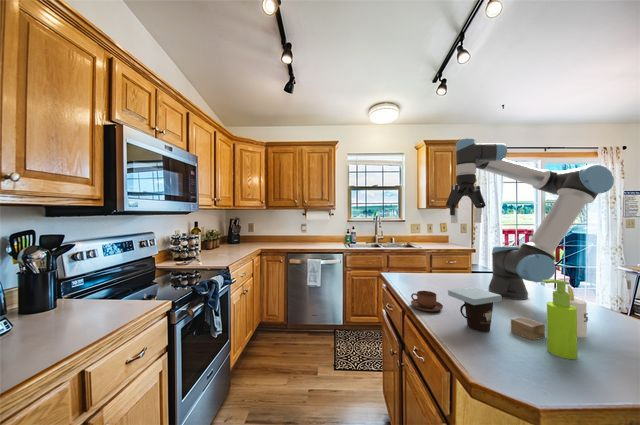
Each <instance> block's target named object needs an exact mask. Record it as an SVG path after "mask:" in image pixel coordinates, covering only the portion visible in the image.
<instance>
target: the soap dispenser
mask: <svg viewBox="0 0 640 425" xmlns="http://www.w3.org/2000/svg"><path fill="white" fill-rule="evenodd" d="M542 281H543V282H542V283H545V284H556V290H553V291H552V301H548V302H546V330H547V331H546V339H547V342H546V343H547V347H546V348H547V351H548V352H549V353H550V352H551V354H552V355H554V356H556V357H560V358H561V359H567V360H576V359H578V337H577V308H576V307H574V306H571V305H570V294H569V293H568V292H567V291H566V285H567V286H570V282H569V281H566V280H562V279H553V278H552V279H551V278H550V279H546V280H542Z"/></svg>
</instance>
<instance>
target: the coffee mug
mask: <svg viewBox="0 0 640 425" xmlns="http://www.w3.org/2000/svg"><path fill="white" fill-rule="evenodd" d="M463 302H464V301H463ZM494 303H495V302H491V303H485V304H478V305H472V304H470V303H467V302H464V303H463V304H461V306H460V309H459V311H460V314H461V316H463V317H464V319H466V324H467V327H468V329H470V330H473V331H476V332H479V333H480V332H481V333H488V332H491V325H492V317H493V312H494V311H493V309H494ZM463 309H464V310H465V313H464V312H463Z"/></svg>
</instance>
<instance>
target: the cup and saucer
mask: <svg viewBox="0 0 640 425" xmlns="http://www.w3.org/2000/svg"><path fill="white" fill-rule="evenodd" d="M414 296H416V298H414ZM410 298H411V299H412V300H411V301H410V302H411V306H413V307H414V308H415V309H417V310H420V311H424V312H439V311H441V310H442V309H443V308H444V305H443V304H442V303H441V302H439V301H437V293H436V292H433V291H429V290H418V291H417V292H416V293H412V294H411V296H410Z"/></svg>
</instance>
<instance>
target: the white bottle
mask: <svg viewBox="0 0 640 425" xmlns="http://www.w3.org/2000/svg"><path fill="white" fill-rule="evenodd" d="M567 291H568V292H567V293H569V294H570V305H571V306H574V307H576V308H577V338H587V337H588V324H587V323H588V321H589V317H588V315H589V313H587V310H588V309H587V302H586V301H585V300H583V299H580V298H576V297H575V295H574V291H573V289H572V287H571V285H567Z"/></svg>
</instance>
